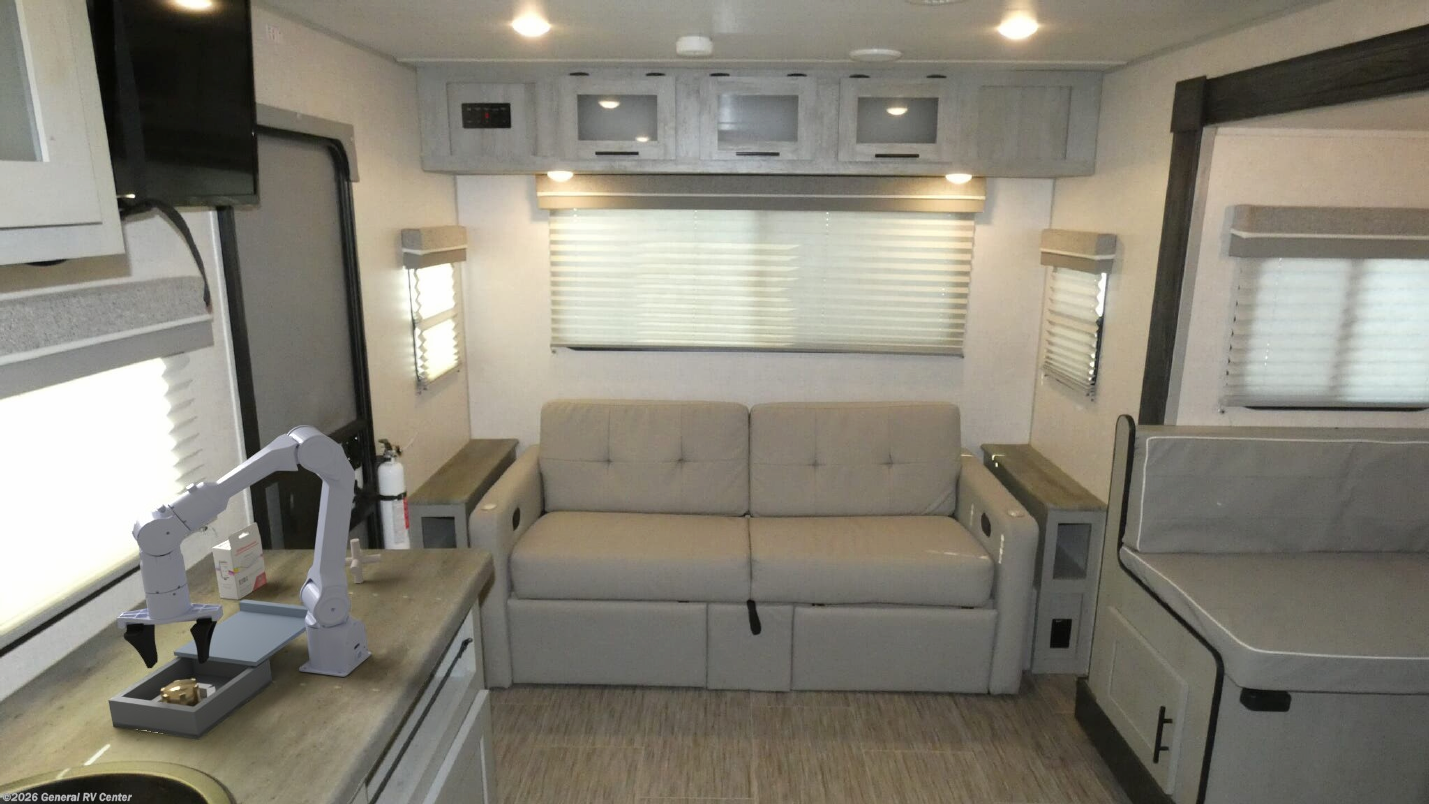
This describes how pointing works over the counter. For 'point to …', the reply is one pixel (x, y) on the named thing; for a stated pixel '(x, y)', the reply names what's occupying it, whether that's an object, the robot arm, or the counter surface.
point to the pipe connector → (359, 560)
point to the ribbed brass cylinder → (181, 693)
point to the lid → (252, 633)
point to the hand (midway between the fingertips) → (178, 662)
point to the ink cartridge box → (240, 563)
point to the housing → (219, 699)
